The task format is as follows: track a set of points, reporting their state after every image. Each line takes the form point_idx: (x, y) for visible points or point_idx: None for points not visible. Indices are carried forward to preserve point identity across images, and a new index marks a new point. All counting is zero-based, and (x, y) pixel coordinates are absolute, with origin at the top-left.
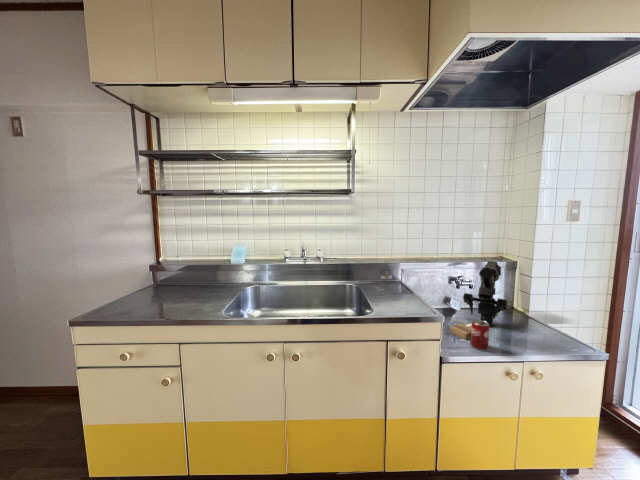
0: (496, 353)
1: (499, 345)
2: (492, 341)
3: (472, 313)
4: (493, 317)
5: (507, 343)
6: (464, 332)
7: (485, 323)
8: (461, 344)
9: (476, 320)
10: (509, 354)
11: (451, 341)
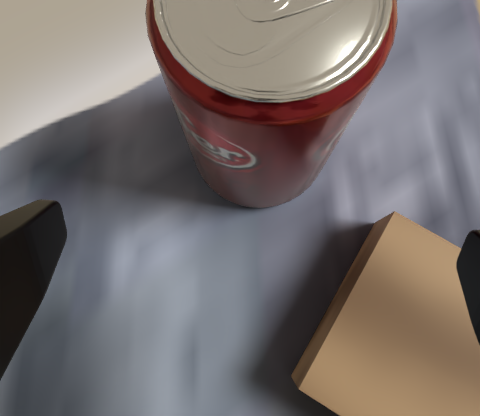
0: (137, 105)
1: (106, 266)
2: (158, 321)
3: (468, 279)
4: (46, 201)
5: (36, 351)
6: (412, 244)
7: (201, 4)
8: (386, 115)
9: (340, 61)
10: (49, 139)
11: (467, 126)
